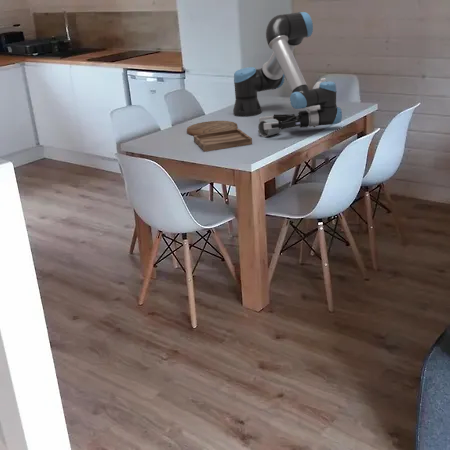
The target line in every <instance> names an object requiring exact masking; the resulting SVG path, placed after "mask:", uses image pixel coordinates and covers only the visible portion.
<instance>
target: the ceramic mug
mask: <svg viewBox="0 0 450 450" xmlns="http://www.w3.org/2000/svg"><path fill="white" fill-rule="evenodd" d="M273 122H278V120H277V119H268V120H262V121H260V120H259V123H258V126H257V127H258V130H257V132H258V134H260V136H261V137H263V138H267V137H271V136H273V135H274V136H275V135H277V134H279V133H280V131H281V129H280V128H276V129H267V130H264V123H273ZM278 124H279V122H278Z"/></svg>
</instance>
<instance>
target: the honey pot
mask: <svg viewBox="0 0 450 450" xmlns="http://www.w3.org/2000/svg"><path fill="white" fill-rule="evenodd" d="M322 82H326V78H325V77H324V78H320V81H317V82H315V84H314V85H313V87H312V89H316V88H319V85H320V83H322ZM306 109H307V110H306V111H308V110H315V109H320V105H317V106H311V107H306Z"/></svg>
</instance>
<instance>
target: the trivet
mask: <svg viewBox="0 0 450 450" xmlns="http://www.w3.org/2000/svg"><path fill="white" fill-rule="evenodd" d="M234 129H238V124H237V123H236V122H235V121H230V120H210V121H209V120H208V121H203V122H198V123H197V122H196V123H194V124H192V125H191V124H190V125H189V126H188V127H187V128H186V134H188V135H190V136H193V137H194V135H200V134H207V133H214V132H220V131H227V130H234Z"/></svg>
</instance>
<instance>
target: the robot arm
mask: <svg viewBox="0 0 450 450" xmlns="http://www.w3.org/2000/svg"><path fill="white" fill-rule="evenodd" d="M313 24H314V23H313V20H312V17H311V15H310V14H309V13H308V12H305V11H302V12H301V11H299V12H292V13H283V14H278V15H276V16H273V17H272V18H271V19H270V21H268V24H267V25H266V30H265V39H266V42H267V45H268V47H269V48H270V50H272V54H271V55H270V57H269V59H268V60H267V61H265V62H264V63H263V64H262V66H261V68H258V69H257V68H256V67H255V66H254V67H253V66H249V67H244V68H243V67H242V68H240V69H237V70H236V71H234V73H233V84H234V85H233V86H234V97H235V101H234V106H233V111H232V112H233V113H232V114H233V116H236V117H252V116H257V115H260V114H261V113H262V107H261V104H260V101H259V98H258V92H264V91H271V90H276V89H280V88H281V87H282V86H283V85H284V83H285V80H286V82H287V85H288V87H289V89H290V91H291V93H290V96H289V101H290V105H291V107H292V108H293V109H294V110H295V109H296V110H298V109H299V111H298V113H297V114H298V115H295V114H294V113H292V114H290V113H289V114H287V113H286V114H273V115H271V116H259V122H260V121H262V120H268V119H277V120H278V122H279V124H278V122H273V123H264V130H267V129H276V128H280V130H285V129H291V128H294V127H300V128H308V127H312V128H316V127H319V126H327V125H328V126H329V125H335V124H336V125H337V124H341V122H342V120H343V115H342V114H343V113H342V108H341V107H339V106H337V85H336V83H335V81H325V82H322V83H320V85H319V88H316V89H313V88H311V89H310V88H309V86H308V84H307V82H306V80H305V78H304V76H303V73H302V71H301V68H300V67H299V63H298V62H297V60H296V58H295V56H294V55H295V54H294V53H293V52H294V50H295V49H296V47H297V46H299V45H301V43H302V42H303V40H304V38H309V37H311V35H312V34H313V32H314V25H313ZM317 105H320V109H315V110H308V111H307V110H300V109H305V108H306V109H307V107H311V106H317Z"/></svg>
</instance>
